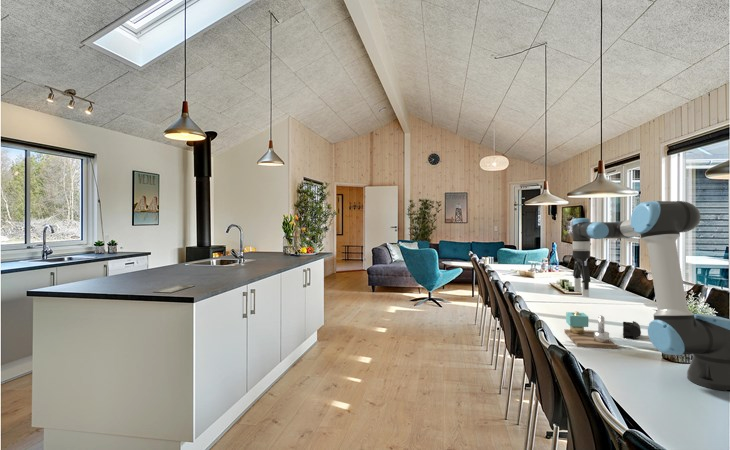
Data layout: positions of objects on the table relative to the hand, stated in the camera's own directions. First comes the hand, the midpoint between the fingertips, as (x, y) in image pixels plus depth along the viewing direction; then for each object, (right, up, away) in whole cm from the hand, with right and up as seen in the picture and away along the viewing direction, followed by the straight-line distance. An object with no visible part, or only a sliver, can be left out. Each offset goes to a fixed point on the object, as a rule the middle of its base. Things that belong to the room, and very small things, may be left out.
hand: (581, 294), depth 202 cm
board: (+1, -21, -5) cm, 21 cm away
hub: (-1, -19, +2) cm, 19 cm away
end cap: (+24, -21, -1) cm, 32 cm away
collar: (-1, -15, +2) cm, 15 cm away
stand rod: (+3, -20, -12) cm, 23 cm away
